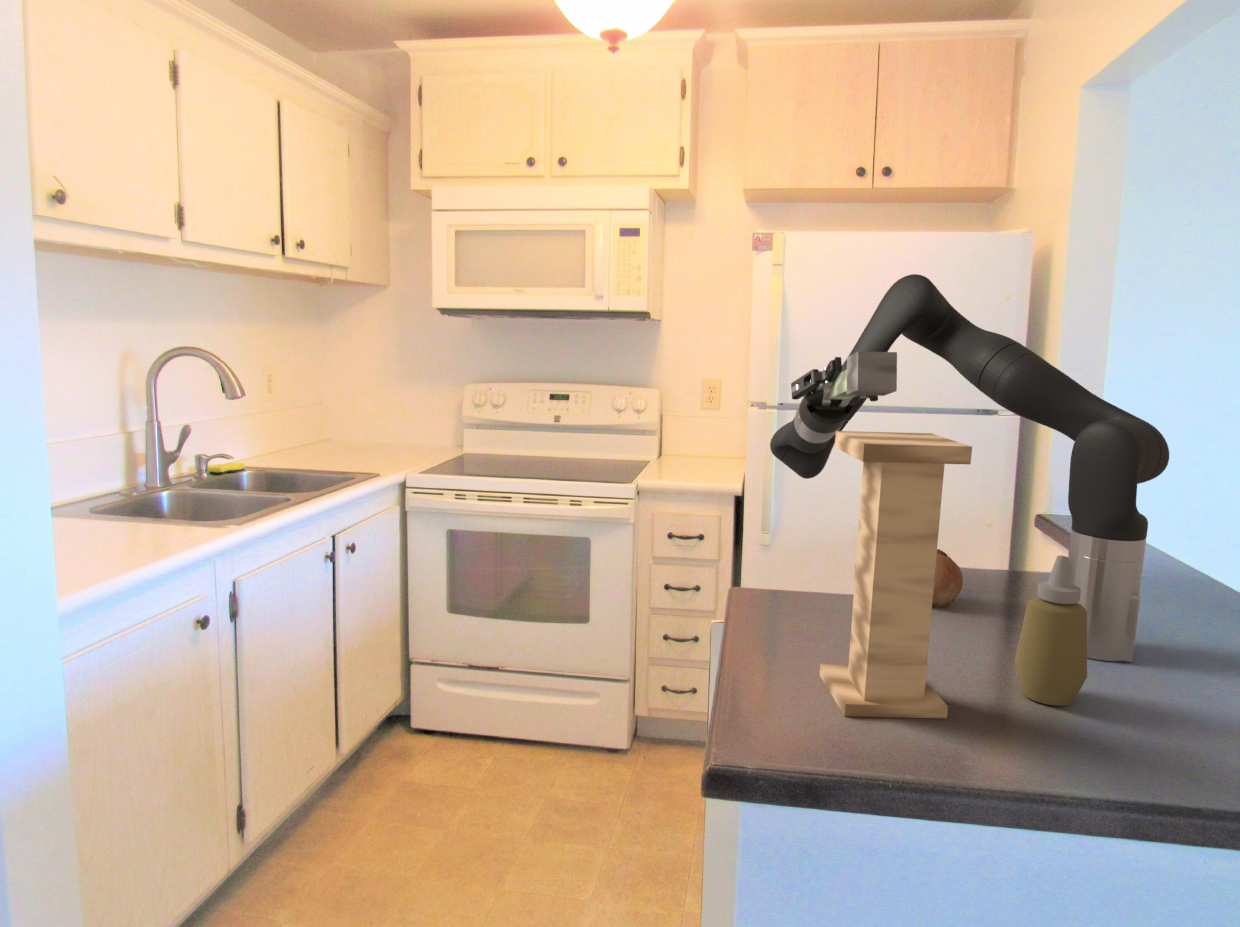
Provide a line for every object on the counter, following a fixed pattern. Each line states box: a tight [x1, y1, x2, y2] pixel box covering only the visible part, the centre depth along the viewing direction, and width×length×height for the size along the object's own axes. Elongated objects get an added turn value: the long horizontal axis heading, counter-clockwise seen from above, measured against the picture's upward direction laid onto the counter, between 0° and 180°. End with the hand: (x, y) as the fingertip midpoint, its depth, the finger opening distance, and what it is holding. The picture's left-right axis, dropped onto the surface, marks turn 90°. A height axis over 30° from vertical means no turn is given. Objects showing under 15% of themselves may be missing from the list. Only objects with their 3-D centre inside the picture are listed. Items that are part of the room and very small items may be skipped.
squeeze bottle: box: [1014, 555, 1088, 707], centre depth 104 cm, size 8×8×18 cm
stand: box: [819, 430, 973, 719], centre depth 102 cm, size 12×12×32 cm
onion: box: [932, 548, 964, 607], centre depth 140 cm, size 10×9×10 cm
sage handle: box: [828, 351, 898, 400], centre depth 117 cm, size 18×5×5 cm, turn 1°
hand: (851, 363), depth 120 cm, fingers closed on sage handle, 3 cm apart
